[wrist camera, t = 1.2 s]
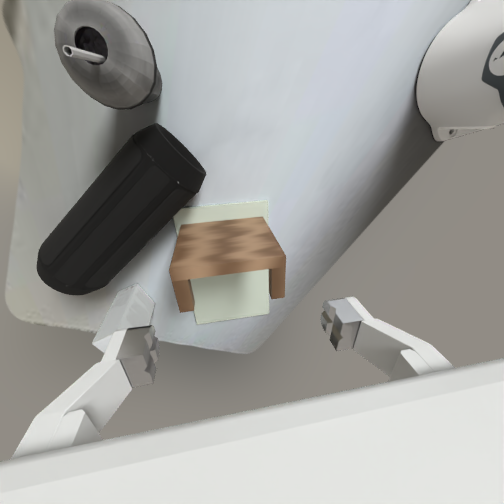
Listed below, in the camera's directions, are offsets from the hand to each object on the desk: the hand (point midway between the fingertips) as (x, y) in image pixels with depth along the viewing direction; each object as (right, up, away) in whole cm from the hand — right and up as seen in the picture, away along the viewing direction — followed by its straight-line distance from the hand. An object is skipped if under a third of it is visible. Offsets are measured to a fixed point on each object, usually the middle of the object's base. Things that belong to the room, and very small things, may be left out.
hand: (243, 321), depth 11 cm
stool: (-4, +6, +30) cm, 31 cm away
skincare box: (-22, -5, +34) cm, 41 cm away
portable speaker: (-19, +11, +26) cm, 34 cm away
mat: (-4, 0, +34) cm, 34 cm away
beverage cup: (-13, +25, +19) cm, 34 cm away
